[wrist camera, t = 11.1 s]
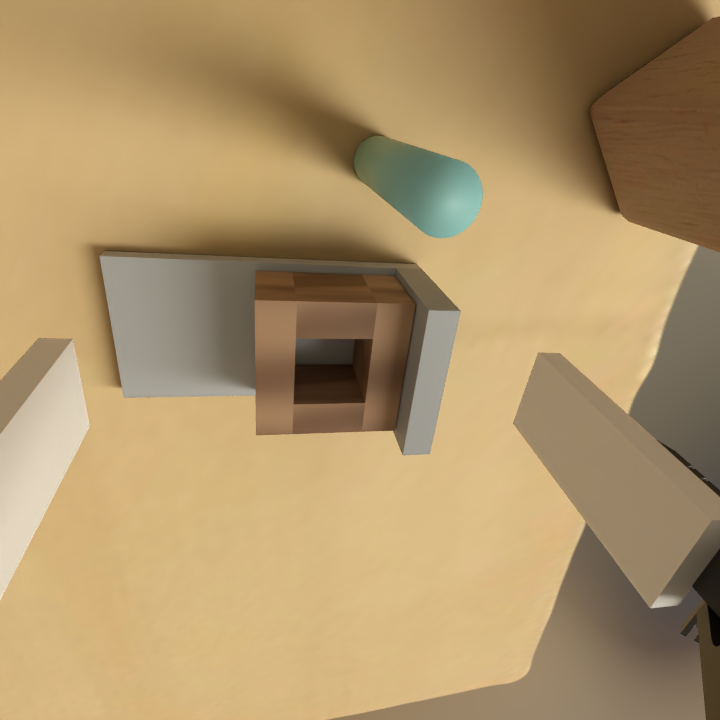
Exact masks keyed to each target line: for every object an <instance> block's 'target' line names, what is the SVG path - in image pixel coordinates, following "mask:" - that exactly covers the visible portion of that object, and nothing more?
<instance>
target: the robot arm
mask: <svg viewBox="0 0 720 720" xmlns="http://www.w3.org/2000/svg"><path fill="white" fill-rule="evenodd" d="M513 424H514V425H515V427H516V428H517V429H518V431H519V432H520V433H521V435H522V436H523V437H524V439H525V440H526V441H527V443H528V444H529V445H530V447H531V448H532V449H533V451H534V452H535V454H536V455H537V456H538V458H539V459H540V460H541V462H542V463H543V464H544V466H545V467H546V468H547V470H548V471H549V472H550V474H551V475H552V476H553V478H554V479H555V480H556V482H557V483H558V485H559V486H560V487H561V489H562V490H563V491H564V493H565V494H566V495H567V497H568V498H569V499H570V501H571V502H572V503H573V505H574V506H575V507H576V509H577V510H578V512H579V513H580V514H581V516H582V517H583V518H584V520H585V521H586V522H587V524H588V525H589V526H590V528H591V529H592V530H593V532H594V533H595V534H596V536H597V537H598V538H599V540H600V541H601V543H602V544H603V545H604V546H605V548H606V549H607V551H608V552H609V553H610V555H611V556H612V557H613V559H614V560H615V561H616V563H617V564H618V565H619V567H620V568H621V569H622V571H623V572H624V574H625V575H626V576H627V578H628V579H629V580H630V582H631V583H632V584H633V586H634V587H635V588H636V590H637V591H638V592H639V594H640V595H641V597H642V598H643V599H644V601H645V602H646V603H647V604H648V606H649V607H650V608H657V607H666V606H675V605H680V603H681V602H682V600H683V599H684V598H685V596H686V595H687V594H688V592H689V591H690V590H691V588H692V587H693V588H694V589H695V590H696V591H697V592H698V594H699V595H700V596H701V597H702V598H703V600H702V601H701V603H700V604H699V605H698V607H697V608H696V609H695V611H694V612H693V613H692V614H691V616H690V617H689V618H688V619H687V621H686V622H685V623H684V624H683V626H682V629H681V634H682V635H684V636H686V635H687V634H688V633H689V632H690V631H691V629H692V628H693V627H698V635H697V636H696V638H695V639H694V640H695V641H696V642H698V643H699V647H700V658H701V668H702V679H703V691H704V701H705V713H706V720H720V490H719V489H718V488H716V487H715V486H714V485H713V484H712V483H711V482H710V481H706V478H705V477H704V476H703V475H702V474H701V473H699V472H698V471H697V470H696V469H693V468H692V465H690V464H689V463H688V462H687V461H686V460H685V459H684V458H683V457H681V456H680V455H679V454H678V453H677V452H676V451H674V450H672V449H671V448H669V447H668V446H666V445H664V444H663V443H661V442H659V441H658V440H656V439H655V438H654V437H652V436H651V435H650V434H649V433H648V432H647V431H646V430H645V429H644V428H642V427H641V426H640V425H639V424H638V423H637V422H636V421H635V420H634V419H632V418H631V417H630V416H629V415H628V414H627V413H626V412H625V411H624V410H622V409H621V408H620V407H619V406H618V405H617V404H616V403H615V402H614V401H612V400H611V399H610V398H609V397H608V396H607V395H606V394H605V393H604V392H602V391H601V390H600V389H599V388H598V387H597V386H596V385H595V384H593V383H592V382H591V381H590V380H589V379H588V378H587V377H586V376H585V375H583V374H582V373H581V372H580V371H579V370H578V369H577V368H576V367H575V366H573V365H572V364H571V363H570V362H569V361H568V360H567V359H566V358H565V357H563V356H562V355H561V354H560V353H538V355H537V357H536V360H535V363H534V366H533V369H532V371H531V374H530V377H529V380H528V383H527V385H526V388H525V391H524V394H523V397H522V400H521V402H520V405H519V408H518V411H517V414H516V416H515V419H514V422H513ZM89 427H90V425H89V420H88V415H87V410H86V405H85V399H84V394H83V389H82V384H81V379H80V373H79V368H78V363H77V358H76V353H75V348H74V342H73V339H56V338H38V339H37V340H36V342H35V343H34V344H33V345H32V346H31V347H30V348H29V349H28V350H27V352H26V353H25V354H24V355H23V356H22V357H21V358H20V359H19V360H18V362H17V363H16V364H15V365H14V366H13V367H12V368H11V369H10V370H9V372H8V373H7V374H6V375H5V376H4V377H3V378H2V379H1V380H0V599H1V597H2V595H3V593H4V591H5V590H6V588H7V586H8V584H9V582H10V580H11V578H12V576H13V574H14V572H15V570H16V568H17V566H18V564H19V562H20V560H21V559H22V557H23V555H24V553H25V551H26V549H27V547H28V545H29V543H30V541H31V539H32V537H33V535H34V533H35V531H36V529H37V527H38V526H39V524H40V522H41V520H42V518H43V516H44V514H45V512H46V510H47V508H48V506H49V504H50V502H51V500H52V498H53V496H54V495H55V493H56V491H57V489H58V487H59V485H60V483H61V481H62V479H63V477H64V475H65V473H66V471H67V469H68V467H69V465H70V463H71V462H72V460H73V458H74V456H75V454H76V452H77V450H78V448H79V446H80V444H81V442H82V440H83V438H84V436H85V434H86V432H87V431H88V429H89Z"/></svg>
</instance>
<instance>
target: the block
mask: <svg viewBox="0 0 720 720" xmlns="http://www.w3.org/2000/svg"><path fill="white" fill-rule="evenodd" d="M591 119H592V122H593V125H594V128H595V132H596V135H597V138H598V141H599V145H600V148H601V151H602V154H603V158H604V161H605V164H606V167H607V171H608V174H609V177H610V180H611V183H612V187H613V190H614V193H615V196H616V200H617V203H618V206H619V209H620V212H621V214H622V215H623V217H624V218H625V219H627V220H628V221H629V222H632V223H635V224H638V225H641V226H643V227H646V228H649V229H652V230H655V231H658V232H661V233H664V234H667V235H670V236H673V237H676V238H679V239H682V240H685V241H688V242H691V243H694V244H697V245H700V246H703V247H706V248H709V249H712V250H715V251H718V252H720V17H715V18H712V19H710V20H709V21H708V22H706V23H705V24H703V25H702V26H700V27H699V28H698V29H696V30H695V31H693V32H692V33H691V34H689V35H688V36H686V37H685V38H683V39H682V40H681V41H679V42H678V43H676V44H675V45H673V46H672V47H671V48H669V49H668V50H666V51H665V52H663V53H662V54H661V55H659V56H658V57H656V58H655V59H653V60H652V61H651V62H649V63H648V64H646V65H645V66H643V67H642V68H641V69H639V70H638V71H636V72H635V73H634V74H632V75H631V76H629V77H628V78H626V79H625V80H624V81H622V82H621V83H619V84H618V85H616V86H615V87H614V88H612V89H611V90H609V91H608V92H606V93H605V94H604V95H602V96H601V97H600V98H598V99H597V100H596V101H595V103H594V104H593V105H592V106H591Z"/></svg>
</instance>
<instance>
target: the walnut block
mask: <svg viewBox="0 0 720 720" xmlns="http://www.w3.org/2000/svg"><path fill="white" fill-rule="evenodd" d="M415 306H416V304H415V302H414V301H413V300H412V298H411V297H410V296H409V294H408V293H407V292H406V290H405V289H404V288H403V286H402V285H401V284H400V282H399V281H398V280H397V278H396V277H395V276H388V275H361V274H333V273H306V272H278V271H256V276H255V383H256V435H277V434H306V433H335V432H365V431H394V430H395V427H396V421H397V415H398V409H399V403H400V397H401V391H402V385H403V378H404V372H405V366H406V360H407V354H408V348H409V342H410V336H411V330H412V324H413V318H414V312H415ZM296 338H298V339H355V343H354V353H353V362H352V364H342V365H295V347H296Z"/></svg>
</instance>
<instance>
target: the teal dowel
mask: <svg viewBox="0 0 720 720" xmlns="http://www.w3.org/2000/svg"><path fill="white" fill-rule="evenodd" d="M354 169H355V172H356V174H357V176H358V177H359V179H360V180H361V181H362V182H364V183H365V184H366V185H367V186H368V187H370V188H371V189H372V190H373V191H374V192H376V193H377V194H378V195H379V196H380V197H382V198H383V199H384V200H385V201H386V202H388V203H389V204H390V205H391V206H392V207H394V208H395V209H396V210H397V211H398V212H400V213H401V214H402V215H403V216H404V217H406V218H407V219H408V220H409V221H410V222H412V223H413V224H414V225H415V226H416V227H418V228H419V229H420V230H421V231H422V232H424V233H425V234H427V235H429V236H431V237H435V238H449V237H452V236H455V235H457V234H459V233H461V232H463V231H464V230H465V229H467V228H468V227H469V226H470V225H471V223H472V222H473V221H474V220H475V218H476V216H477V214H478V213H479V210H480V207H481V204H482V198H483V190H482V184H481V181H480V178H479V176H478V174H477V173H476V171H475V170H474V169H473V168H472V167H471V166H470V165H468V164H467V163H465V162H462V161H459V160H456V159H453V158H450V157H447V156H444V155H441V154H437V153H434V152H431V151H428V150H425V149H422V148H418V147H415V146H412V145H409V144H406V143H403V142H400V141H396V140H393V139H390V138H387V137H384V136H377V135H376V136H371V137H368V138H367V139H365V140H364V141H362V142H361V143H360V145H359V146H358V148H357V149H356V152H355V155H354Z"/></svg>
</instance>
